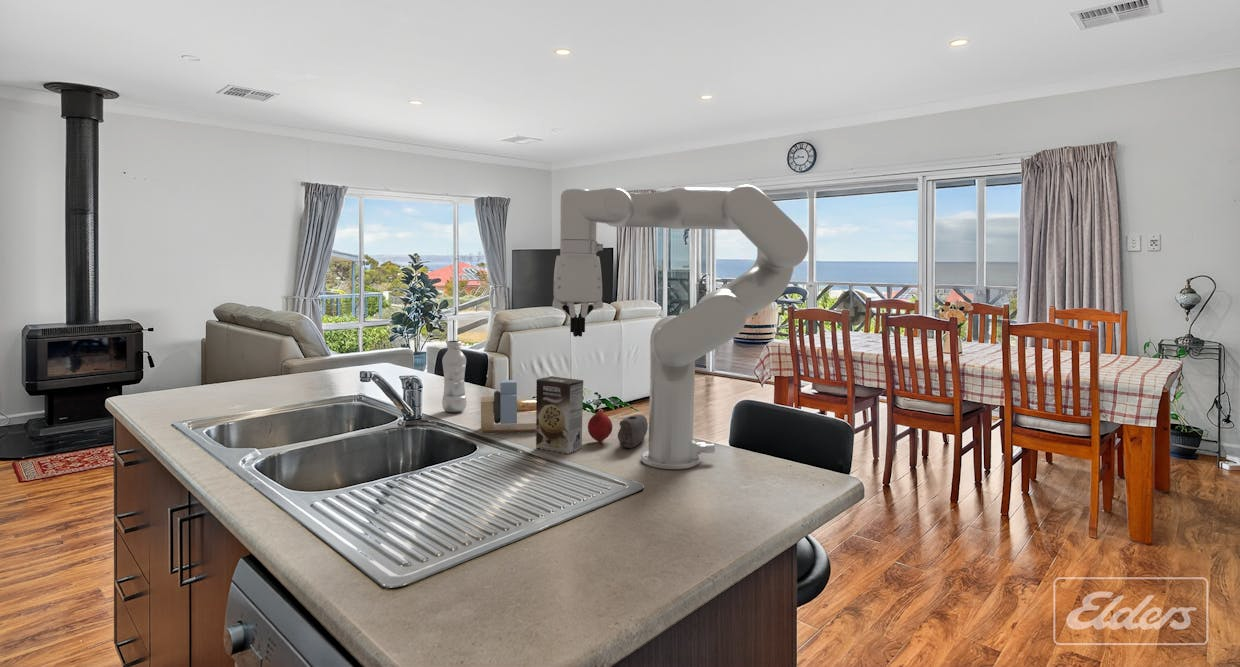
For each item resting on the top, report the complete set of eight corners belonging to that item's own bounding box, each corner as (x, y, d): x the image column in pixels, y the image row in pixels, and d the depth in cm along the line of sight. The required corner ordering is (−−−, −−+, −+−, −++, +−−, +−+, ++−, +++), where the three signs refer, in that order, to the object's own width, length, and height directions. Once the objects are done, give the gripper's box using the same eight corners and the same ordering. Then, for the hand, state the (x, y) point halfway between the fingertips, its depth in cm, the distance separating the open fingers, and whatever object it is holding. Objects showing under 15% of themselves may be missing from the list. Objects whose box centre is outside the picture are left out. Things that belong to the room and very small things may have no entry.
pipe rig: (548, 425, 176) (548, 395, 175) (550, 431, 170) (550, 400, 169) (481, 427, 173) (481, 397, 172) (481, 433, 167) (480, 402, 166)
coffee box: (534, 448, 155) (534, 379, 153) (550, 442, 160) (550, 375, 158) (568, 454, 150) (569, 383, 149) (583, 447, 156) (584, 379, 154)
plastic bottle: (440, 410, 191) (439, 340, 189) (464, 408, 194) (463, 339, 192) (444, 415, 186) (443, 343, 183) (469, 413, 188) (468, 342, 186)
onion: (601, 447, 157) (601, 413, 156) (582, 442, 160) (582, 409, 159) (616, 441, 162) (617, 409, 161) (598, 437, 165) (598, 405, 164)
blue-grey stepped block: (516, 416, 174) (516, 378, 173) (516, 423, 168) (516, 383, 167) (500, 417, 174) (500, 379, 173) (500, 423, 167) (500, 384, 166)
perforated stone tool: (634, 434, 168) (635, 407, 168) (654, 437, 167) (655, 409, 166) (612, 450, 154) (613, 420, 154) (634, 453, 153) (634, 423, 152)
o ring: (500, 418, 174) (500, 388, 173) (500, 425, 167) (500, 394, 166) (494, 418, 174) (494, 388, 173) (493, 426, 166) (493, 394, 165)
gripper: (610, 249, 147) (609, 333, 149) (541, 248, 144) (541, 334, 146) (616, 249, 140) (615, 337, 142) (543, 248, 137) (543, 338, 139)
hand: (577, 335), depth 144 cm, fingers closed
